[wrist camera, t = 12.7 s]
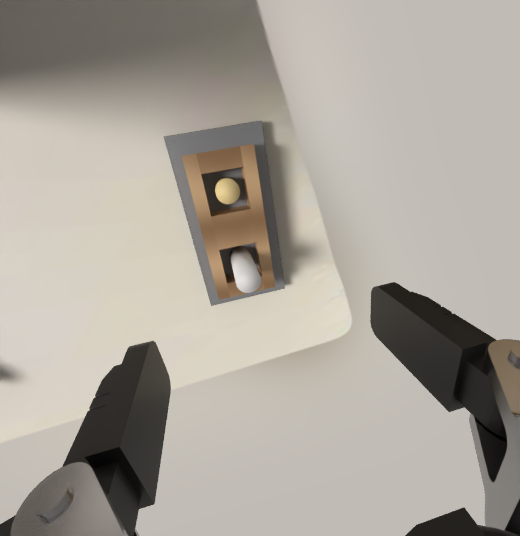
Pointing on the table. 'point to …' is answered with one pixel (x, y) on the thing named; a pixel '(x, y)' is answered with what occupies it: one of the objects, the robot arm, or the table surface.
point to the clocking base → (215, 205)
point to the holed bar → (231, 215)
